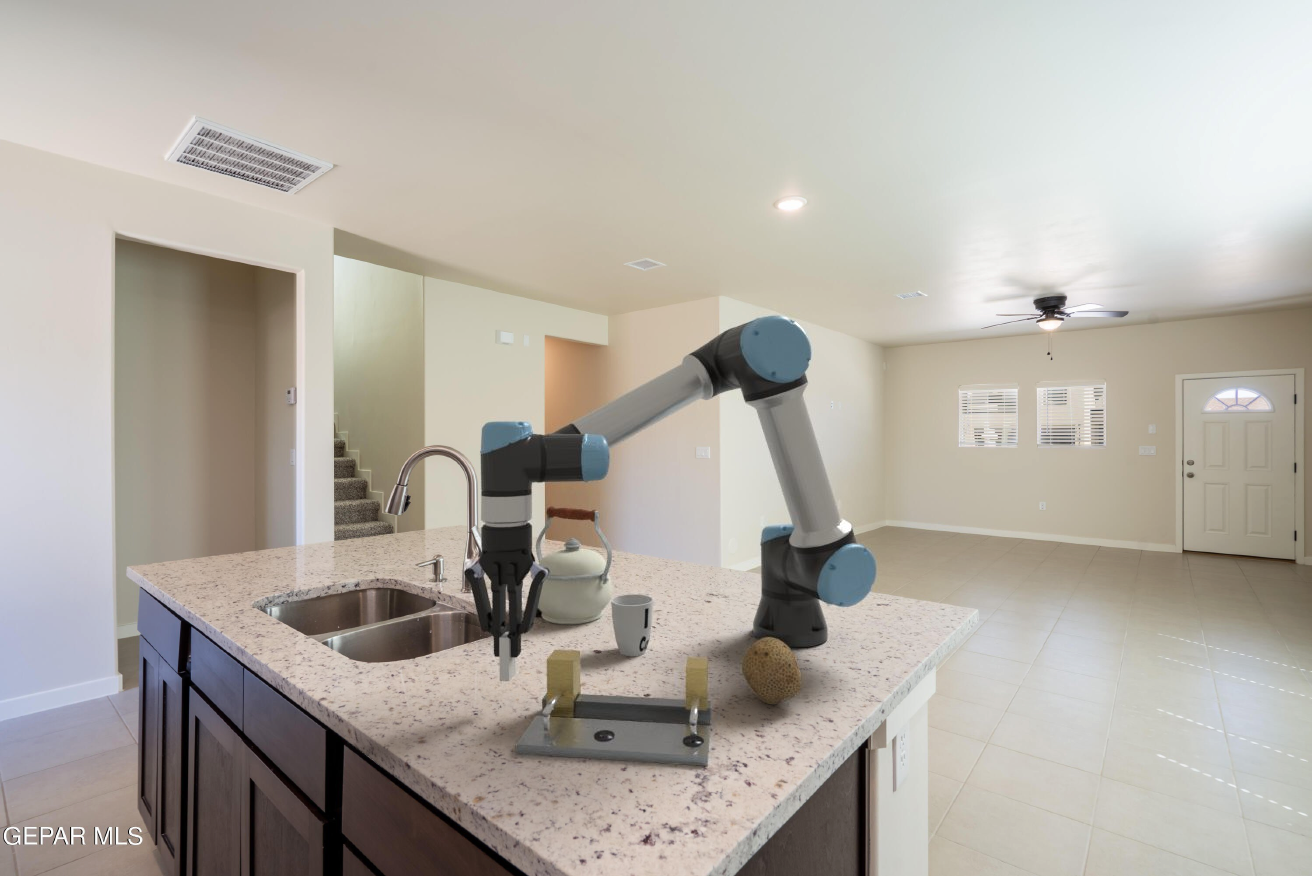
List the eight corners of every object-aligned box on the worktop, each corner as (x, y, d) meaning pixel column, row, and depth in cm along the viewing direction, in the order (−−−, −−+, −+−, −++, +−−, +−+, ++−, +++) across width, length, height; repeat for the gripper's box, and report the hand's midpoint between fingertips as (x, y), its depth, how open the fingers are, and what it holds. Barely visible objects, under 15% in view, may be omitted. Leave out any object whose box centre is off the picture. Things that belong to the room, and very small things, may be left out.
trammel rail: (711, 714, 89) (711, 658, 89) (708, 753, 79) (708, 689, 79) (548, 705, 93) (548, 651, 93) (524, 741, 82) (523, 680, 82)
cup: (648, 660, 111) (648, 606, 111) (606, 657, 113) (606, 604, 113) (657, 645, 119) (657, 595, 119) (617, 642, 121) (617, 593, 121)
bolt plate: (709, 734, 84) (709, 725, 84) (707, 765, 76) (707, 755, 76) (536, 724, 87) (536, 715, 87) (516, 753, 79) (516, 743, 79)
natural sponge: (738, 688, 98) (738, 628, 98) (793, 689, 98) (793, 628, 98) (745, 714, 89) (744, 647, 89) (805, 715, 89) (805, 648, 89)
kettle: (634, 612, 141) (633, 506, 141) (584, 634, 126) (583, 515, 125) (553, 597, 154) (553, 501, 154) (500, 615, 139) (499, 508, 139)
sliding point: (580, 703, 92) (580, 649, 92) (559, 740, 81) (559, 679, 81) (555, 701, 93) (555, 648, 93) (531, 738, 82) (531, 678, 82)
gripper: (555, 519, 94) (556, 669, 94) (476, 518, 96) (477, 666, 96) (540, 527, 87) (541, 690, 87) (454, 525, 88) (455, 685, 88)
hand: (507, 677), depth 91 cm, fingers closed
